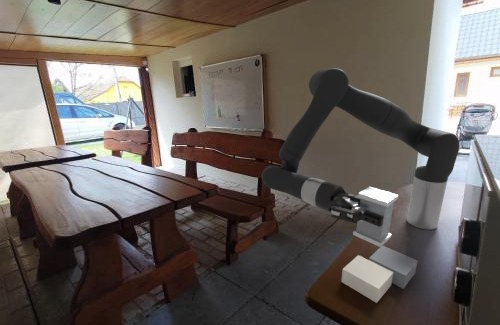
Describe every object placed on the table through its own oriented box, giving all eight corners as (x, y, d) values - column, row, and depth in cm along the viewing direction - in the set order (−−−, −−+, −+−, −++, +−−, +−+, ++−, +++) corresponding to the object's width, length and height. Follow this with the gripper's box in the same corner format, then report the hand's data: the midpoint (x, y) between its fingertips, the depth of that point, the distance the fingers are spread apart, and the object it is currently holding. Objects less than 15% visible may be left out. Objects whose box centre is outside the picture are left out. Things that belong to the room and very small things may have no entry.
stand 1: (356, 267, 72) (358, 255, 71) (391, 285, 65) (393, 272, 64) (341, 281, 67) (342, 268, 66) (376, 303, 60) (378, 289, 59)
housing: (364, 226, 66) (369, 186, 63) (390, 237, 61) (398, 194, 58) (353, 234, 63) (358, 193, 59) (380, 247, 58) (387, 202, 55)
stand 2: (380, 257, 76) (382, 245, 74) (415, 273, 69) (417, 260, 68) (367, 270, 71) (369, 257, 70) (403, 288, 64) (406, 275, 63)
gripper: (306, 188, 65) (375, 214, 53) (337, 174, 74) (403, 193, 61) (305, 215, 67) (370, 245, 55) (335, 198, 76) (397, 221, 64)
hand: (387, 218), depth 58 cm, fingers closed on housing, 4 cm apart
